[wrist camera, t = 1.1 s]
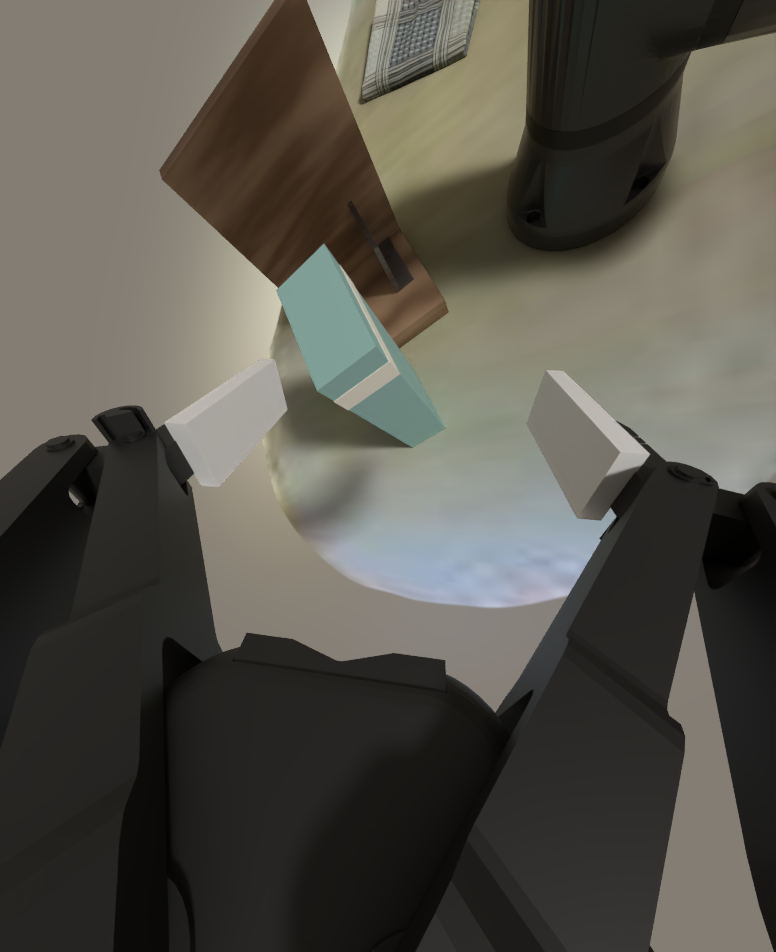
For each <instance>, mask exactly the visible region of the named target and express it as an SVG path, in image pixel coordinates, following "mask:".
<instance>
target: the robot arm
mask: <svg viewBox="0 0 776 952" xmlns="http://www.w3.org/2000/svg"><path fill="white" fill-rule="evenodd" d="M772 33H776V0H529V26H528V62H527V97H526V101H527V103H526V124H525V128H524V131H523V135H522V138H521V142H520V145H519V149H518V152H517V156H516V159H515V163H514V166H513V170H512V173H511V177H510V180H509V185H508V192H507V215H508V222H509V225H510V228H511V230H512V231H513V233H514V234H515V236H516V237H517V238H518V239H519V240H521V241H522V242H523V243H525V244H527V245H529V246H531V247H534V248H538V249H543V250H566V249H572V248H576V247H580V246H583V245H586V244H589V243H592V242H594V241H596V240H599V239H601V238H603V237H605V236H607V235H608V234H610V233H612V232H614V231H615V230H617V229H618V228H620V227H621V226H622V225H624V224H625V223H626V222H628V221H629V220H630V219H631V218H632V217H634V216H635V215H636V214H637V213H638V212H639V211H640V210H641V209H642V208H643V207H644V205H645V204H646V203H647V202H648V201H649V199H650V198H651V197H652V195H653V194H654V192H655V190H656V189H657V187H658V185H659V183H660V181H661V179H662V177H663V174H664V172H665V170H666V168H667V166H668V163H669V161H670V159H671V156H672V153H673V150H674V146H675V142H676V136H677V127H678V117H679V108H680V99H681V89H682V80H683V72H684V69H685V66H686V64H687V61H688V59H689V56H690V54H691V51H695V50H698V49H702V48H707V47H711V46H715V45H719V44H725V43H730V42H734V41H739V40H744V39H748V38H753V37H758V36H762V35H767V34H772ZM287 410H288V409H287V405H286V401H285V398H284V394H283V390H282V386H281V382H280V378H279V374H278V370H277V366H276V362H275V359H260V360H258V361H257V362H255V363H254V364H252V365H251V366H249V367H248V368H246V369H245V370H243V371H242V372H240V373H239V374H237V375H236V376H234V377H232V378H231V379H229V380H228V381H226V382H225V383H223V384H222V385H220V386H219V387H217V388H216V389H215V390H213V391H211V392H210V393H208V394H207V395H205V396H204V397H202V398H201V399H199V400H198V401H196V402H195V403H193V404H192V405H190V406H189V407H187V408H185V409H184V410H183V411H181V412H180V413H178V414H176V415H175V416H173V417H172V418H170V419H169V420H167V421H166V422H164V425H162V426H161V427H159V428H158V429H155V428H154V426H153V424H152V423H151V421H150V419H149V418H148V416H147V415H146V413H145V411H144V410H143V408H142V407H140V406H123V407H118V408H113V409H110V410H107V411H104V412H102V413H100V414H98V415H97V416H95V417H94V418H93V419H92V422H93V423H94V424H95V426H96V427H97V428H98V429H99V431H100V432H101V433H102V434H103V436H104V437H105V439H106V440H107V441H108V442H109V444H108V446H99V447H94V446H93V444H92V443H91V442H90V441H89V440H88V438H87V437H86V436H85V435H69V436H59V437H56V438H53V439H50V440H48V441H47V442H46V443H44V444H42V445H40V446H39V447H37V448H36V449H34V450H33V451H32V452H31V453H30V454H29V455H28V456H26V457H25V458H24V459H23V460H22V461H21V462H20V463H19V464H18V465H17V466H15V467H14V468H13V469H12V470H11V471H10V472H9V473H8V474H7V475H5V476H4V477H3V478H2V479H1V480H0V952H654V951H653V949H652V948H651V946H650V940H651V935H652V929H653V924H654V918H655V913H656V907H657V901H658V896H659V891H660V885H661V880H662V874H663V869H664V863H665V858H666V852H667V846H668V841H669V835H670V830H671V825H672V819H673V813H674V808H675V802H676V797H677V791H678V786H679V780H680V775H681V769H682V764H683V758H684V751H685V735H684V732H683V729H682V726H681V724H680V723H678V722H677V721H676V720H674V719H673V718H672V717H670V716H669V714H668V711H667V703H668V698H669V694H670V689H671V685H672V681H673V677H674V673H675V669H676V664H677V660H678V656H679V652H680V648H681V644H682V639H683V635H684V631H685V627H686V623H687V618H688V614H689V610H690V606H691V602H692V598H693V593H694V592H695V597H696V602H697V607H698V611H699V617H700V622H701V627H702V632H703V637H704V642H705V647H706V652H707V657H708V662H709V667H710V672H711V677H712V682H713V687H714V692H715V697H716V702H717V708H718V713H719V718H720V722H721V728H722V733H723V737H724V743H725V748H726V753H727V757H728V763H729V768H730V773H731V778H732V783H733V788H734V793H735V798H736V803H737V808H738V813H739V818H740V823H741V828H742V833H743V839H744V844H745V849H746V854H747V858H748V862H749V866H750V870H751V875H752V879H753V882H754V887H755V891H756V895H757V899H758V903H759V907H760V910H761V913H762V916H763V919H764V922H765V926H766V929H767V932H768V935H769V938H770V941H771V944H772V947H773V949H774V952H776V483H771V482H761V483H759V484H757V485H755V486H754V487H753V488H752V489H751V490H749V491H748V492H747V493H746V494H745V495H744V494H740V493H736V492H731V491H727V490H723V489H719V486H718V483H717V481H715V480H714V479H713V478H712V477H711V476H710V475H708V474H707V473H705V472H703V471H702V470H699V469H697V468H694V467H692V466H689V465H686V464H682V463H677V462H666V461H665V460H664V459H663V458H662V457H661V456H660V455H659V454H657V453H656V452H655V451H654V450H653V449H652V448H651V447H650V446H649V445H648V444H645V442H644V441H643V440H642V439H641V438H638V435H637V434H636V433H635V432H634V431H632V430H631V429H630V428H629V427H627V426H625V425H623V424H621V423H619V422H618V421H615V420H614V419H613V418H612V417H611V416H610V415H609V414H608V413H607V412H606V411H605V410H604V409H602V408H601V407H600V406H599V405H598V404H597V403H596V402H595V401H594V400H593V399H592V398H591V397H590V396H589V395H588V394H587V393H586V392H585V391H584V390H583V389H582V388H581V387H579V386H578V385H577V384H576V383H575V382H574V381H573V380H572V379H571V378H570V377H569V376H568V375H567V374H566V373H565V372H564V371H553V370H546V371H545V374H544V376H543V379H542V382H541V385H540V387H539V390H538V393H537V396H536V398H535V401H534V404H533V407H532V409H531V412H530V415H529V418H528V421H527V425H528V427H529V429H530V431H531V433H532V435H533V436H534V438H535V440H536V442H537V444H538V446H539V448H540V450H541V451H542V453H543V455H544V457H545V459H546V461H547V463H548V465H549V467H550V468H551V470H552V472H553V474H554V476H555V478H556V480H557V482H558V483H559V485H560V487H561V489H562V491H563V493H564V495H565V497H566V498H567V500H568V502H569V504H570V506H571V508H572V510H573V512H574V514H575V515H576V517H577V518H579V519H590V520H602V518H603V517H604V516H605V514H606V513H607V512H608V510H609V509H610V508H611V509H612V510H613V512H614V513H615V515H616V516H617V517H616V518H615V519H614V521H613V522H612V523H611V525H610V526H609V527H608V528H607V530H606V531H605V532H604V533H603V535H602V536H601V537H600V538H599V539H601V541H600V543H599V545H598V546H597V548H596V550H595V552H594V553H593V555H592V557H591V558H590V560H589V562H588V563H587V565H586V567H585V568H584V570H583V572H582V573H581V575H580V577H579V578H578V580H577V582H576V583H575V585H574V587H573V589H572V590H571V592H570V594H569V595H568V597H567V599H566V601H565V602H564V604H563V605H562V607H561V609H560V610H559V612H558V614H557V615H556V617H555V619H554V620H553V622H552V624H551V626H550V627H549V629H548V631H547V632H546V634H545V636H544V637H543V639H542V641H541V642H540V644H539V646H538V648H537V649H536V651H535V652H534V654H533V656H532V658H531V659H530V661H529V663H528V664H527V666H526V668H525V669H524V671H523V673H522V674H521V676H520V678H519V679H518V681H517V682H516V684H515V685H514V687H513V688H512V689H511V691H510V692H509V693H508V695H507V696H506V697H505V699H504V700H503V702H502V704H501V705H500V706H499V708H498V710H497V711H496V713H495V712H494V711H493V710H492V709H491V708H490V707H489V706H488V705H487V704H486V703H485V702H484V701H483V699H482V698H480V696H478V695H477V694H476V693H475V692H473V691H472V690H471V689H470V688H469V687H467V686H466V685H464V684H463V683H461V682H460V681H458V680H456V679H455V678H453V677H451V676H448V675H446V672H445V671H446V670H445V660H440V659H432V658H425V657H417V656H410V655H403V654H395V653H392V654H387V655H380V656H374V657H367V658H362V659H355V660H349V661H336V660H334V659H332V658H330V657H328V656H326V655H324V654H321V653H320V652H318V651H316V650H314V649H312V648H309V647H308V646H306V645H303V644H301V643H300V642H298V641H295V640H293V639H288V638H281V637H273V636H266V635H259V634H252V633H246V636H245V638H244V640H243V642H242V644H241V646H240V647H238V648H235V649H231V650H228V651H225V652H222V650H221V648H220V646H219V644H218V641H217V638H216V633H215V628H214V622H213V615H212V609H211V604H210V597H209V591H208V584H207V578H206V573H205V566H204V560H203V554H202V548H201V542H200V536H199V529H198V523H197V517H196V511H195V505H194V498H193V492H192V487H191V486H190V484H189V483H188V481H187V480H188V479H189V478H190V477H191V476H192V475H193V474H194V475H195V476H196V478H197V480H198V482H199V483H200V485H201V486H210V487H220V486H221V485H222V484H223V482H224V481H225V480H226V479H227V478H228V477H229V476H230V474H231V473H232V472H233V471H234V470H235V469H236V468H237V466H238V465H239V464H240V463H241V462H242V461H243V460H244V459H245V457H246V456H247V455H248V454H249V453H250V452H251V451H252V449H253V448H254V447H255V446H256V445H257V444H258V443H259V442H260V440H261V439H262V438H263V437H264V436H265V435H266V434H267V432H268V431H269V430H270V429H271V428H272V427H273V426H274V424H275V423H276V422H277V421H278V420H279V419H280V418H281V417H282V415H283V414H284V413H285V412H286V411H287ZM69 491H70V492H71V493H72V494H73V495H74V496H75V497H76V498H77V499H78V500H79V501H80V502H79V503H78V505H76V504H75V503H73V501H72V500H71V498H70V497H69Z"/></svg>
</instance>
